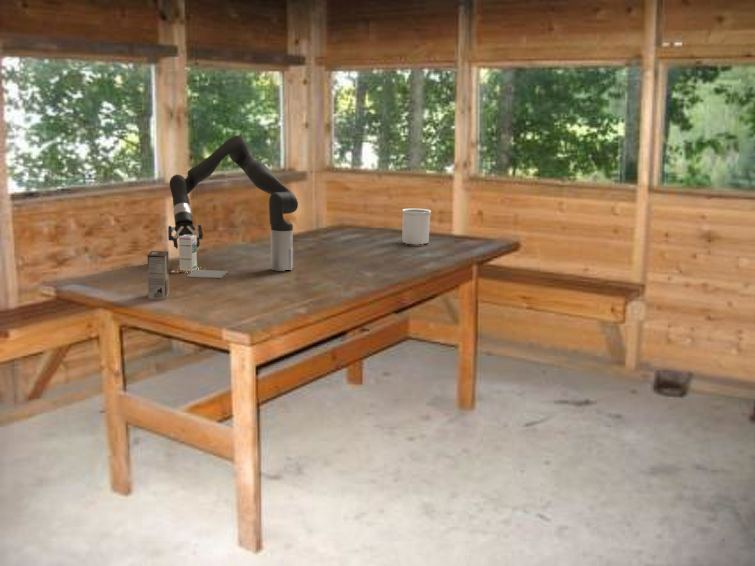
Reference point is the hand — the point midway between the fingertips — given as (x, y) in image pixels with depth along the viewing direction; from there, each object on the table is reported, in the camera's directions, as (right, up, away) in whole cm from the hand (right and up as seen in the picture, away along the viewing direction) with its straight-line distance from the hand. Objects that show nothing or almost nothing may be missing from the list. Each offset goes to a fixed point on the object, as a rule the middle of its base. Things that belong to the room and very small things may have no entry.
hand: (187, 247), depth 367 cm
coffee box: (+1, -20, -50) cm, 54 cm away
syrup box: (+1, -10, 0) cm, 10 cm away
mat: (+10, -12, -8) cm, 18 cm away
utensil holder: (+100, +5, +89) cm, 134 cm away
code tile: (+1, -10, 0) cm, 10 cm away
